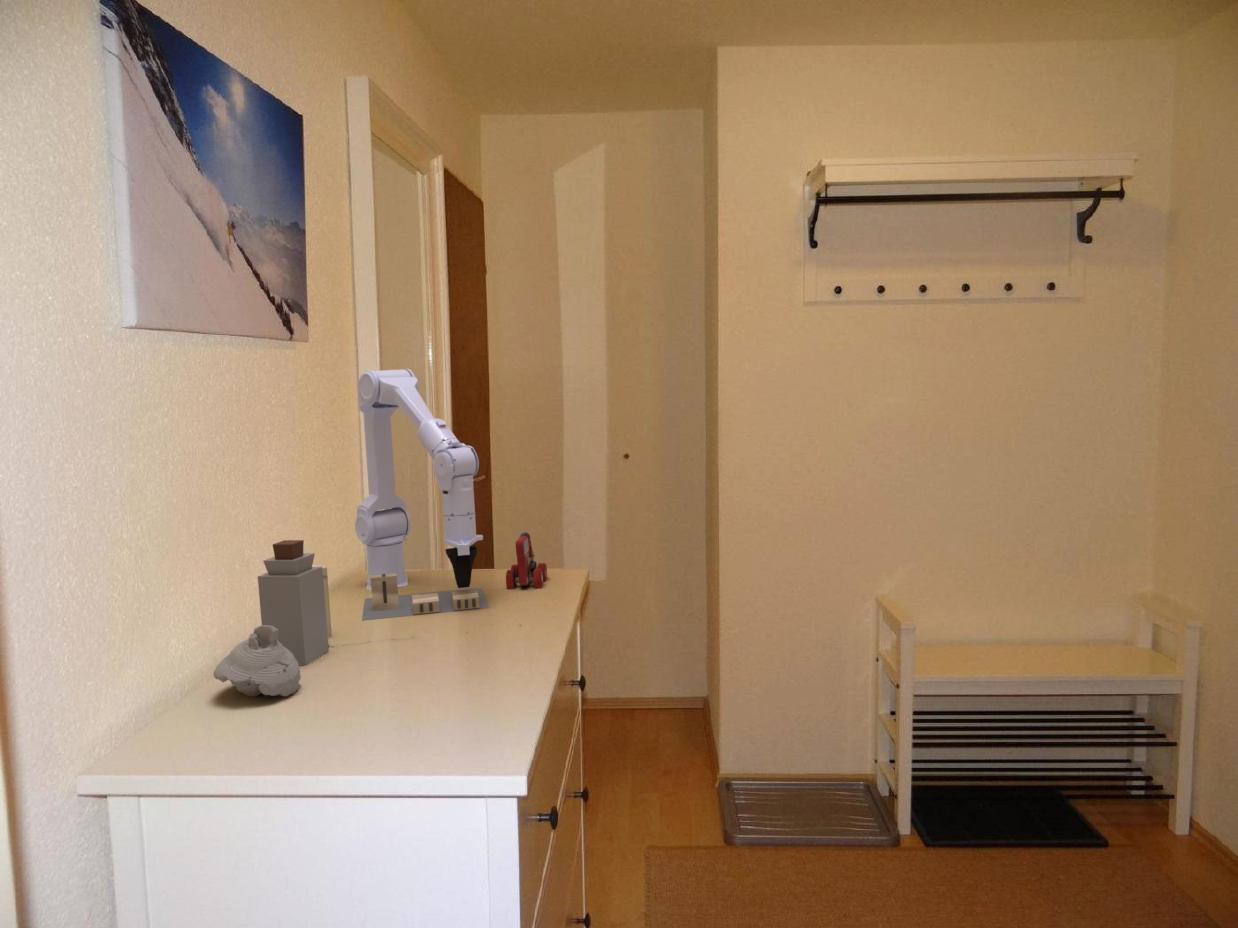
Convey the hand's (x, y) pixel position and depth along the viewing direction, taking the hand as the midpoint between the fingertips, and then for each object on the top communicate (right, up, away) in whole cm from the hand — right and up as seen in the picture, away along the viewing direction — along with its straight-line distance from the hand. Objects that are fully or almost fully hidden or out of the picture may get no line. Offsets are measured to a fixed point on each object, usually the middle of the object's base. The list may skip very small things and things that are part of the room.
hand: (463, 586), depth 168 cm
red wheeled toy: (+10, -2, +13) cm, 17 cm away
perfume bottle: (-21, -7, -27) cm, 35 cm away
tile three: (0, -2, 0) cm, 2 cm away
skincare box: (-22, -7, -19) cm, 30 cm away
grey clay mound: (-21, -9, -42) cm, 47 cm away
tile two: (-7, -2, -1) cm, 7 cm away
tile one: (-14, -4, -2) cm, 14 cm away
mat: (-7, -4, +1) cm, 8 cm away
